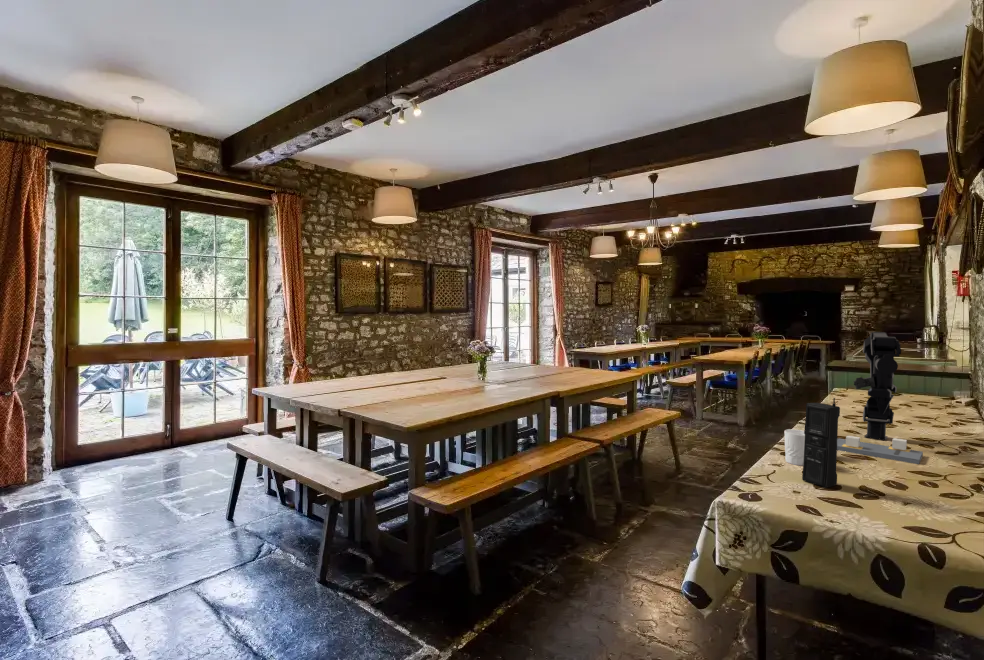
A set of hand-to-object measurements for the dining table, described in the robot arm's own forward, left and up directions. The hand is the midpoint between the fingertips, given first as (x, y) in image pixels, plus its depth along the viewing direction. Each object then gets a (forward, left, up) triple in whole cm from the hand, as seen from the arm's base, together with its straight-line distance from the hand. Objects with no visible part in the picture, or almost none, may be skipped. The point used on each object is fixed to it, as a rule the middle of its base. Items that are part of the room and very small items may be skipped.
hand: (881, 413), depth 179 cm
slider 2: (+7, +6, -10) cm, 14 cm away
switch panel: (+11, 0, -12) cm, 16 cm away
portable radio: (+61, -7, -12) cm, 63 cm away
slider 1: (+15, -6, -10) cm, 19 cm away
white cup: (+44, -16, -12) cm, 48 cm away
